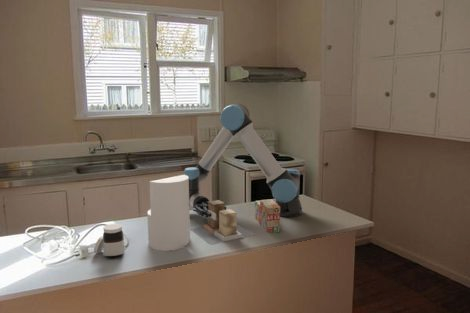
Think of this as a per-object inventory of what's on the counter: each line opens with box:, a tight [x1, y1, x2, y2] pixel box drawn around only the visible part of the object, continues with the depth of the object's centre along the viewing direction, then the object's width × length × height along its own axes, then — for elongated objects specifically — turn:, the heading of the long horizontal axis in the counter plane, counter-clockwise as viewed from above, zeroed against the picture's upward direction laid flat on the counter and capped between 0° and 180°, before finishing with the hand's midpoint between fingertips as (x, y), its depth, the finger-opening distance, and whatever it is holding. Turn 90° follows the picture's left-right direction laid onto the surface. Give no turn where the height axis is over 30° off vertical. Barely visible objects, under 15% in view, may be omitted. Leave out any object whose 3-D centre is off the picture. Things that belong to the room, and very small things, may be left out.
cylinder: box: [146, 174, 191, 252], centre depth 166 cm, size 17×17×28 cm
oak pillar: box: [219, 208, 237, 237], centre depth 173 cm, size 6×6×11 cm
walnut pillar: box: [207, 199, 226, 228], centre depth 182 cm, size 6×6×11 cm
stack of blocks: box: [254, 199, 281, 234], centre depth 189 cm, size 21×6×12 cm, turn 11°
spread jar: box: [93, 223, 125, 260], centre depth 155 cm, size 12×11×12 cm
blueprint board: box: [190, 223, 256, 245], centre depth 178 cm, size 22×20×2 cm
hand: (221, 216), depth 177 cm, fingers closed on walnut pillar, 5 cm apart
